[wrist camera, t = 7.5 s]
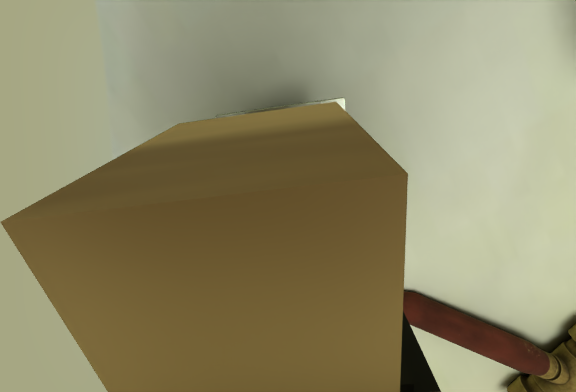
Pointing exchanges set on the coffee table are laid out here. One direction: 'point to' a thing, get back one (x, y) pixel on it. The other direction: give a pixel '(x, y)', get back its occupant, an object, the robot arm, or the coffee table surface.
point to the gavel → (497, 345)
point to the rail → (232, 257)
